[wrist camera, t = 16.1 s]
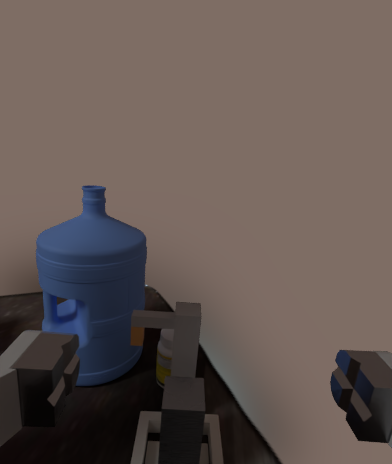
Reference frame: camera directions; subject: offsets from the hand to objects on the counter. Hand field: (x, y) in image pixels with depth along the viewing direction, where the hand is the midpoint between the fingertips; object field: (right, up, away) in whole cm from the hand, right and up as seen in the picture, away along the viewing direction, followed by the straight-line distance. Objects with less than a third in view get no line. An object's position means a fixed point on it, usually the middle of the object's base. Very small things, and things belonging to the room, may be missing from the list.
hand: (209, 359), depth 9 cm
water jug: (-17, -17, +40) cm, 47 cm away
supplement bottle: (-4, -19, +36) cm, 41 cm away
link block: (-2, -22, +22) cm, 32 cm away
